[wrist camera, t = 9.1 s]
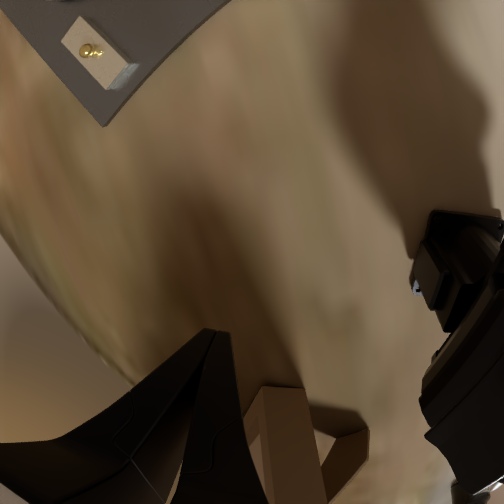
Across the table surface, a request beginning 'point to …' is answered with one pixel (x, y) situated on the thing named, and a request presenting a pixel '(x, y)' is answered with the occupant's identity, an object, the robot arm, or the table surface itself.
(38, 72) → the table surface
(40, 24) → the stand plate
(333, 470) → the photo frame
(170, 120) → the table surface
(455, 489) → the ink bottle
